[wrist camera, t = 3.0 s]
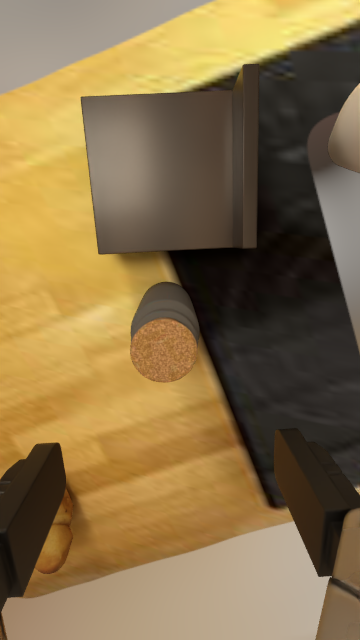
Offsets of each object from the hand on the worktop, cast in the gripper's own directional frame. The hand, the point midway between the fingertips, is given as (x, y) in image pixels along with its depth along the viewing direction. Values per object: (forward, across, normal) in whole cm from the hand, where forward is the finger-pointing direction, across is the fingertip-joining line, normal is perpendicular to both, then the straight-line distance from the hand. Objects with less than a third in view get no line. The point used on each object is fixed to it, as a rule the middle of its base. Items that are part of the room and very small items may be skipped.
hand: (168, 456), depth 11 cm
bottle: (+26, 0, 0) cm, 26 cm away
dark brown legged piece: (+25, -1, -13) cm, 29 cm away
